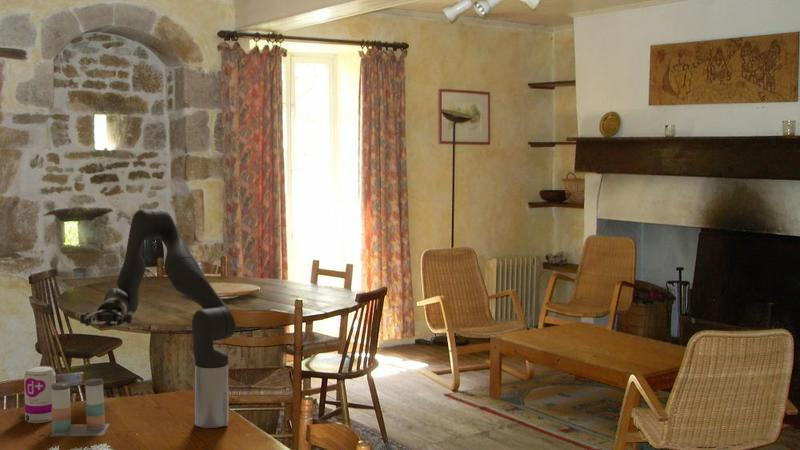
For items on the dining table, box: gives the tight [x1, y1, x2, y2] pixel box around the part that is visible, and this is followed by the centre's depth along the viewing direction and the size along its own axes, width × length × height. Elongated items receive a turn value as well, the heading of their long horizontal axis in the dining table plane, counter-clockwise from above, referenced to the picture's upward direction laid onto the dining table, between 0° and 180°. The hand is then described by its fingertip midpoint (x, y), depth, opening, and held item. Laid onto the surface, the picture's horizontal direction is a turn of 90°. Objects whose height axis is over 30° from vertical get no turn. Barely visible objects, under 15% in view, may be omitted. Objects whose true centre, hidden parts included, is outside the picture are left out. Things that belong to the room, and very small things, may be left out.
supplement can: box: [23, 365, 56, 424], centre depth 259 cm, size 8×8×15 cm
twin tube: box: [51, 381, 72, 435], centre depth 247 cm, size 5×5×13 cm
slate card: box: [48, 423, 110, 438], centre depth 251 cm, size 14×10×1 cm
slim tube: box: [84, 378, 106, 431], centre depth 252 cm, size 5×5×13 cm
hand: (102, 322), depth 261 cm, fingers open, 8 cm apart
